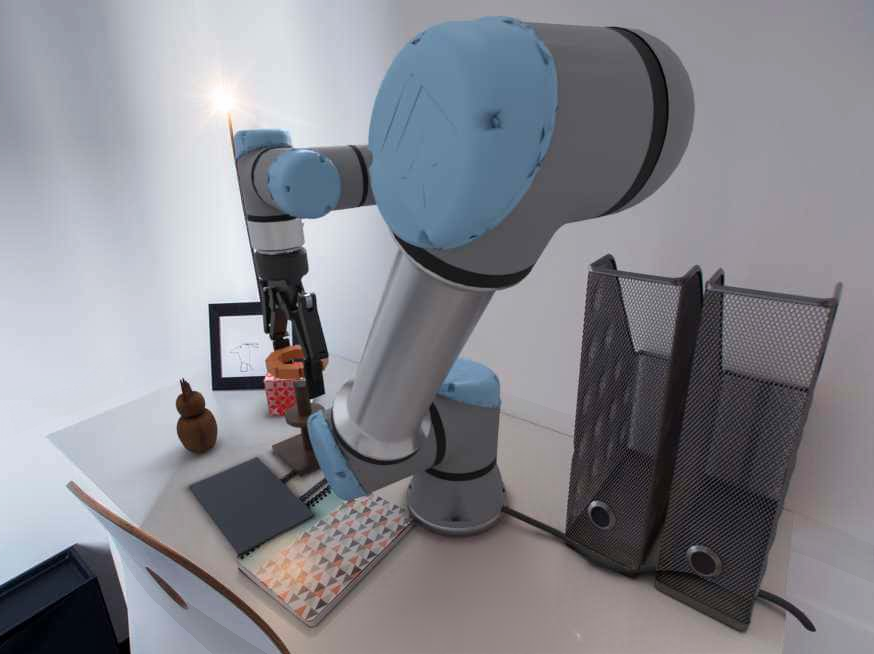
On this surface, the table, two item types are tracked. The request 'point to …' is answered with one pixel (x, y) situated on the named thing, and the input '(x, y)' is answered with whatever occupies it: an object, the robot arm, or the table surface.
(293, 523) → the mat
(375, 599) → the table surface
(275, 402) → the red patterned cube
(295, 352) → the ring
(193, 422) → the wooden figurine
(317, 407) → the ring stand
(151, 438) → the table surface
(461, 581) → the table surface
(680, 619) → the table surface
